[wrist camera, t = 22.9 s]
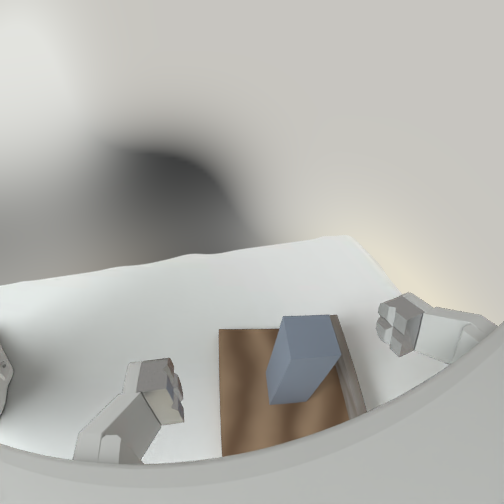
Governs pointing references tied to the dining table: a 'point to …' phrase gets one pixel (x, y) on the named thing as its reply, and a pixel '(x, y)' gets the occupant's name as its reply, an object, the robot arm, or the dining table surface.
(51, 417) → the dining table surface
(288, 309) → the dining table surface
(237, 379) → the shelf board
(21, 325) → the dining table surface
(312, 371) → the carton
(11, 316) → the dining table surface
